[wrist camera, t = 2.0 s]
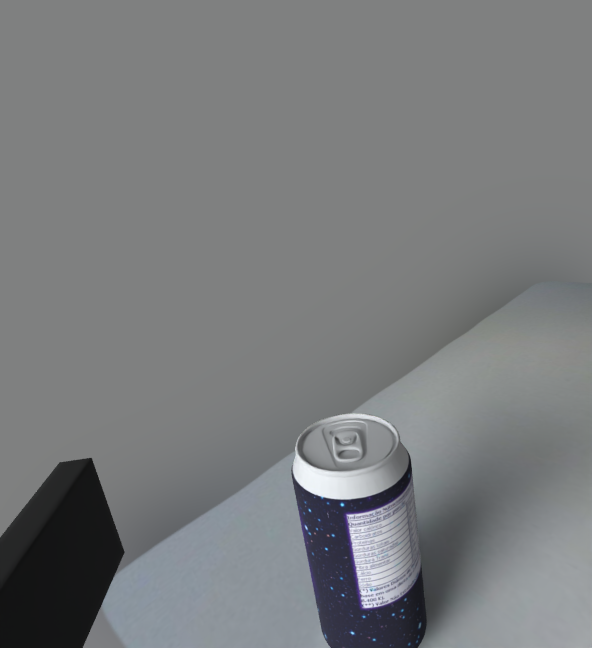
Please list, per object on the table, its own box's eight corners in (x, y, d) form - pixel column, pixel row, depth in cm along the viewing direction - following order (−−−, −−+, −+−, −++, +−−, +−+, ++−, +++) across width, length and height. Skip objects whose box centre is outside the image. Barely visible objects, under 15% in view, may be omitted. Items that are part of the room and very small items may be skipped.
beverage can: (414, 579, 29) (395, 402, 25) (440, 674, 23) (422, 468, 20) (320, 590, 29) (288, 417, 25) (325, 687, 24) (285, 486, 20)
